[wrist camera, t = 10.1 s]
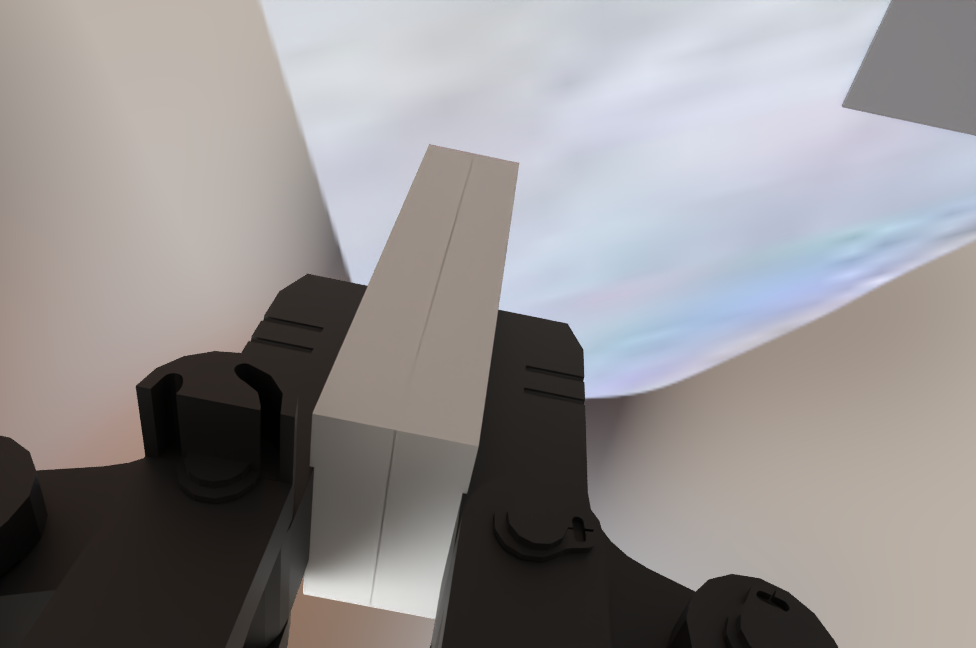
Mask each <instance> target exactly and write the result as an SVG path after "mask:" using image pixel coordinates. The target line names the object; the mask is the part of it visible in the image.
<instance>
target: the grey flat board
mask: <svg viewBox="0 0 976 648" xmlns="http://www.w3.org/2000/svg"><path fill="white" fill-rule="evenodd" d="M842 107H844V108H849V109H854V110H858V111H863V112H868V113H872V114H877V115H882V116H886V117H891V118H896V119H900V120H905V121H910V122H915V123H919V124H924V125H929V126H933V127H938V128H943V129H947V130H952V131H957V132H961V133H966V134H971V135H975V136H976V0H892V1H891V3H890V5H889V7H888V9H887V11H886V13H885V15H884V17H883V20H882V22H881V24H880V26H879V28H878V30H877V32H876V34H875V36H874V39H873V41H872V43H871V45H870V47H869V49H868V51H867V53H866V56H865V58H864V60H863V62H862V64H861V66H860V68H859V70H858V72H857V75H856V77H855V79H854V81H853V83H852V85H851V87H850V89H849V92H848V94H847V96H846V98H845V100H844V102H843V104H842Z"/></svg>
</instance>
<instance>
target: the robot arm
mask: <svg viewBox="0 0 976 648" xmlns="http://www.w3.org/2000/svg"><path fill="white" fill-rule="evenodd" d="M518 168H519V163H517V162H512V161H507V160H502V159H498V158H493V157H488V156H483V155H478V154H473V153H469V152H464V151H459V150H454V149H449V148H445V147H440V146H435V145H430V144H429V146H428V149H427V151H426V153H425V156H424V158H423V160H422V162H421V165H420V167H419V169H418V172H417V174H416V176H415V179H414V181H413V183H412V185H411V188H410V190H409V192H408V195H407V197H406V199H405V202H404V204H403V206H402V208H401V211H400V213H399V215H398V218H397V220H396V222H395V225H394V227H393V229H392V231H391V234H390V236H389V238H388V241H387V243H386V245H385V248H384V250H383V252H382V255H381V257H380V259H379V261H378V264H377V266H376V268H375V271H374V273H373V275H372V278H371V280H370V282H369V284H368V286H365V285H360V284H355V283H351V282H345V281H340V280H336V279H331V278H325V277H320V276H316V275H311V274H307V275H305V276H303V277H302V278H300V279H299V280H297V281H295V282H294V283H292V284H291V285H289V286H287V287H286V288H284V289H283V290H281V291H279V293H278V294H277V296H276V298H275V299H274V301H273V303H272V304H271V306H270V307H269V309H268V311H267V312H266V314H265V316H264V320H263V321H261V322H260V324H259V325H258V327H257V328H256V330H255V332H254V333H253V335H252V338H251V342H250V341H249V342H248V343H247V345H246V346H245V348H244V349H243V351H242V353H232V352H219V351H213V352H207V353H201V354H195V355H189V356H183V357H181V358H179V359H176V360H174V361H172V362H170V363H167V364H165V365H163V366H161V367H158V368H156V369H155V370H154V371H152V372H151V373H150V374H149V375H148V376H147V377H146V378H144V379H143V380H142V381H141V382H140V383H139V384H138V385H136V391H137V399H138V406H139V413H140V420H141V427H142V435H143V442H144V449H145V457H144V458H143V459H140V460H137V461H134V462H130V463H124V464H118V465H111V466H104V467H87V468H72V469H55V470H39V471H36V469H35V466H34V464H33V461H32V458H31V455H30V452H29V451H27V450H26V449H25V448H23V447H22V446H21V445H19V444H18V443H17V442H15V441H14V440H13V439H11V438H9V437H4V436H0V648H287V645H288V637H289V629H290V616H291V609H292V606H293V603H294V600H295V598H296V595H297V592H298V589H299V586H300V584H301V581H302V578H303V575H304V587H303V594H306V595H311V596H317V597H322V598H328V599H332V600H338V601H343V602H348V603H353V604H359V605H364V606H369V607H375V608H380V609H385V610H391V611H396V612H401V613H407V614H412V615H417V616H422V617H427V618H433V619H435V624H434V630H433V636H432V642H431V646H430V648H838V646H837V644H836V643H835V641H834V639H833V638H832V637H831V635H830V634H829V633H828V631H827V630H826V629H825V627H824V626H823V625H822V623H821V622H820V621H819V619H818V618H817V617H816V615H815V614H814V613H813V612H812V611H811V610H809V609H808V608H807V607H806V606H805V605H803V604H802V603H801V602H799V600H797V599H796V598H795V597H794V596H792V595H791V594H790V593H789V592H787V591H785V590H783V589H781V588H779V587H777V586H774V585H772V584H770V583H768V582H766V581H764V580H762V579H760V578H754V577H748V576H741V575H735V574H730V575H726V576H722V577H717V578H713V579H709V580H708V581H707V582H706V583H704V585H702V586H701V587H700V588H699V589H698V590H697V591H696V592H695V591H693V590H691V589H689V588H686V587H685V586H683V585H681V584H678V583H676V582H674V581H672V580H670V579H668V578H666V577H664V576H662V575H660V574H658V573H656V572H654V571H652V570H650V569H648V568H646V567H645V566H643V565H641V564H640V563H638V562H636V561H635V560H633V559H632V558H630V557H628V556H627V555H626V554H624V552H622V551H621V550H620V549H619V548H618V547H617V546H616V545H614V544H613V543H612V542H611V541H610V539H609V538H608V537H607V536H606V534H605V533H604V532H603V530H602V529H601V525H600V522H599V520H598V519H597V517H596V516H595V514H594V513H593V512H592V511H591V508H590V503H589V497H588V487H587V457H586V425H585V424H586V423H585V422H586V421H585V405H584V401H585V388H584V382H583V380H584V355H583V348H582V347H581V345H580V344H579V342H578V340H577V339H576V337H575V335H574V334H573V332H572V330H571V329H570V327H569V325H568V324H567V323H562V322H557V321H552V320H547V319H542V318H537V317H532V316H527V315H522V314H517V313H512V312H507V311H502V310H498V307H499V300H500V293H501V286H502V279H503V273H504V266H505V259H506V252H507V245H508V238H509V231H510V224H511V217H512V210H513V203H514V196H515V189H516V182H517V175H518Z"/></svg>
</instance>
